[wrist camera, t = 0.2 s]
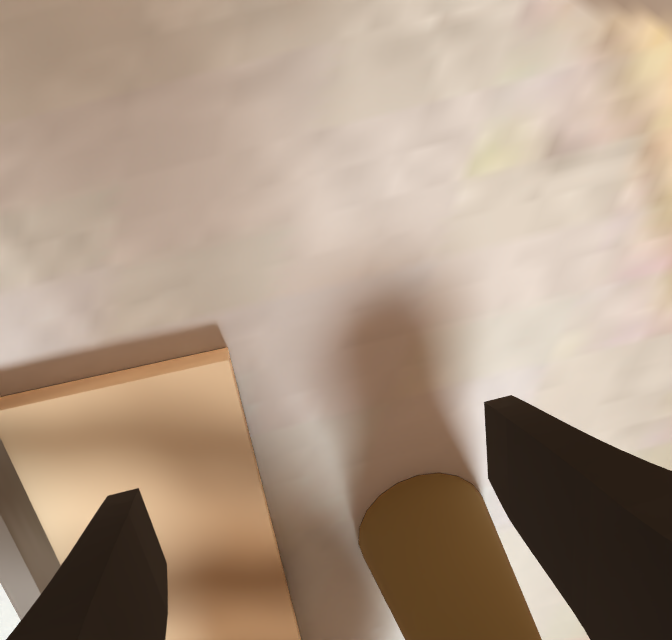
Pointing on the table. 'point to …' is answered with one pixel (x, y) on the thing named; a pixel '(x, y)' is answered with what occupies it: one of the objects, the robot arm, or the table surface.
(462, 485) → the cork
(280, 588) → the shelf board
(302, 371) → the table surface
